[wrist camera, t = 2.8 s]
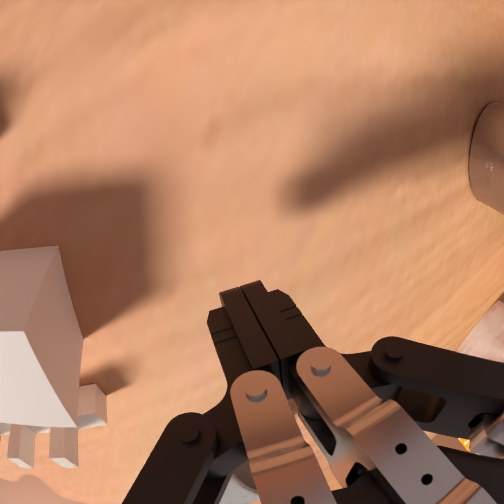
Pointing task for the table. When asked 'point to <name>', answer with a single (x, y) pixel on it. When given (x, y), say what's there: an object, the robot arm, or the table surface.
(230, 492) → the ceramic mug
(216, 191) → the table surface
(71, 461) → the notched wall frame
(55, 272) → the white cube
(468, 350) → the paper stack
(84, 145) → the table surface
